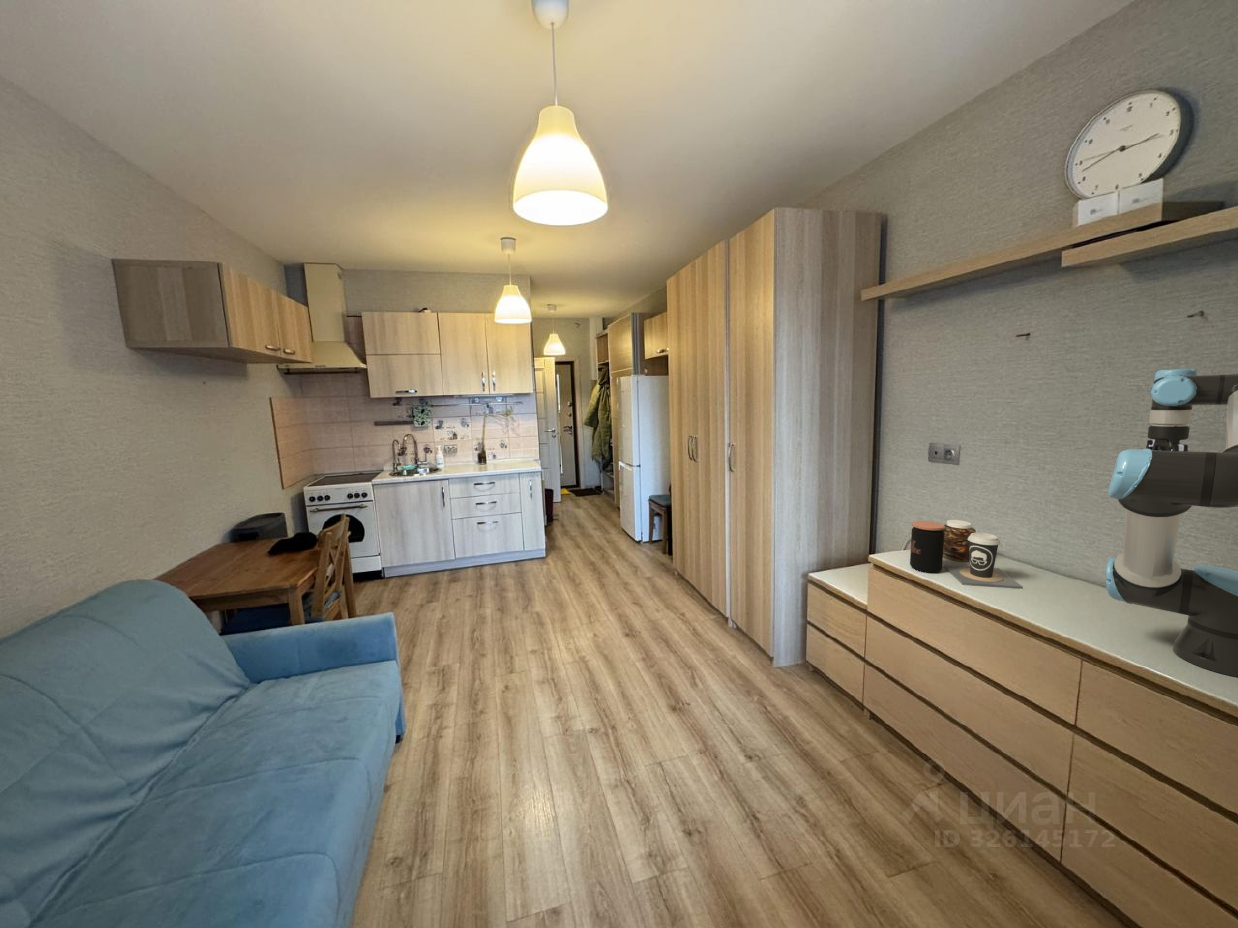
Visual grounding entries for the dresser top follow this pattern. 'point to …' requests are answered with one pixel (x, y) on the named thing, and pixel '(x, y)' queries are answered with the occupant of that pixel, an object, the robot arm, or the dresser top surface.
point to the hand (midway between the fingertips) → (1159, 499)
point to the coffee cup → (982, 554)
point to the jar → (957, 540)
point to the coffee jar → (927, 546)
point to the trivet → (995, 581)
